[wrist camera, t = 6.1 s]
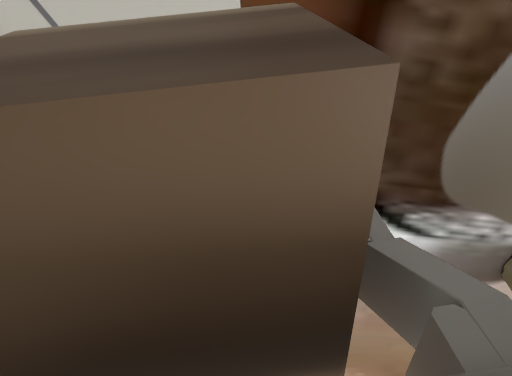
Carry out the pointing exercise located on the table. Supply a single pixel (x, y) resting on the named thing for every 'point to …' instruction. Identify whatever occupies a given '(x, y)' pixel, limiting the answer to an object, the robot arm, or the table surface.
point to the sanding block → (187, 193)
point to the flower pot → (508, 273)
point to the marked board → (95, 11)
